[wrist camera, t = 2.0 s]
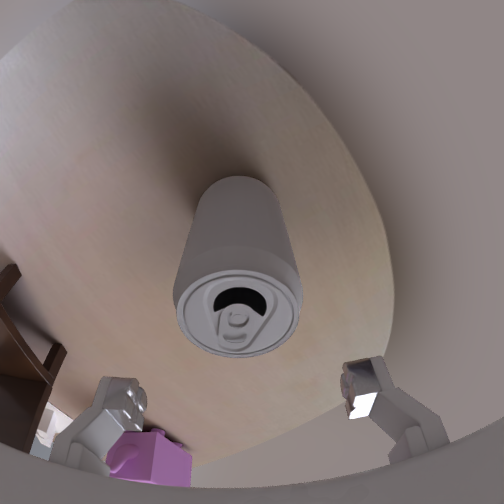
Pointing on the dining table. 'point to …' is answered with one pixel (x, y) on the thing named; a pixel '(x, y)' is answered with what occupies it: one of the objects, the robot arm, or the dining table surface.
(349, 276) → the dining table surface
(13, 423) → the wooden doll chair
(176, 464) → the teapot
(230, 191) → the beverage can
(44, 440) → the napkin holder
